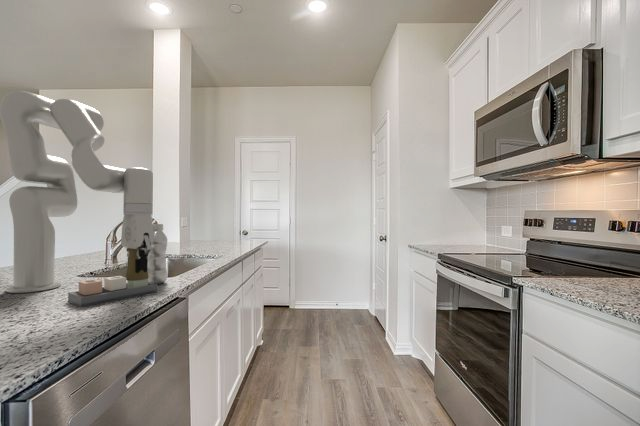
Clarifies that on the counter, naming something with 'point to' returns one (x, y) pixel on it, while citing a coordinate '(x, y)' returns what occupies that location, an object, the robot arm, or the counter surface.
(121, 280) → the key cream
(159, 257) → the plastic bottle
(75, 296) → the base
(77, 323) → the counter surface
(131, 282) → the key sage
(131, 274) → the olive rounded piece
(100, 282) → the peach square block
